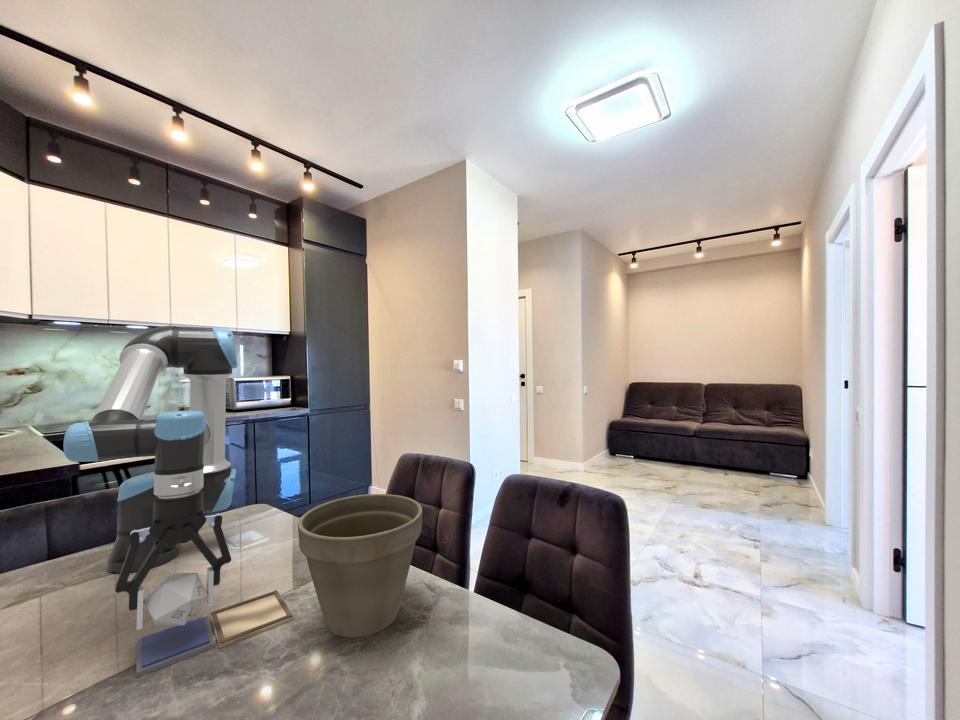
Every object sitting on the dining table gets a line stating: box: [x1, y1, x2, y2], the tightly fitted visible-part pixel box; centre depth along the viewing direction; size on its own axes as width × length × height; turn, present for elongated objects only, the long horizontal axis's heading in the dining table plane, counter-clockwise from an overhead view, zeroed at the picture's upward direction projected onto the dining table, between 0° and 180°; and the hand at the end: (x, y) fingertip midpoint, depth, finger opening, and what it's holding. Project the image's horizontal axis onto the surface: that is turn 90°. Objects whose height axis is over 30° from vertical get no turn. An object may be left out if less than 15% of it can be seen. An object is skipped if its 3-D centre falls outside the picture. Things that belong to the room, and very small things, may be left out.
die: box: [143, 572, 208, 627], centre depth 73 cm, size 8×9×10 cm
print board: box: [209, 590, 295, 650], centre depth 81 cm, size 13×13×1 cm
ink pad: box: [135, 615, 216, 678], centre depth 73 cm, size 11×11×1 cm
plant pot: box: [297, 493, 423, 639], centre depth 82 cm, size 25×25×22 cm
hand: (176, 613), depth 73 cm, fingers closed on die, 10 cm apart
